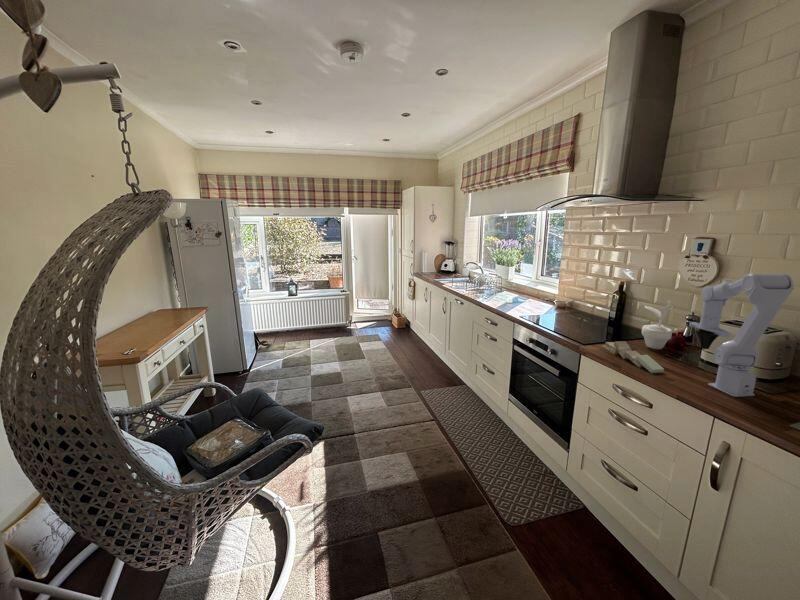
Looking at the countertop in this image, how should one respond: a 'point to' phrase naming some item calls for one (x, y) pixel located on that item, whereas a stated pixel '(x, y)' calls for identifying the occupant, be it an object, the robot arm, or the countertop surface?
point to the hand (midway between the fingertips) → (704, 348)
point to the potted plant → (657, 329)
